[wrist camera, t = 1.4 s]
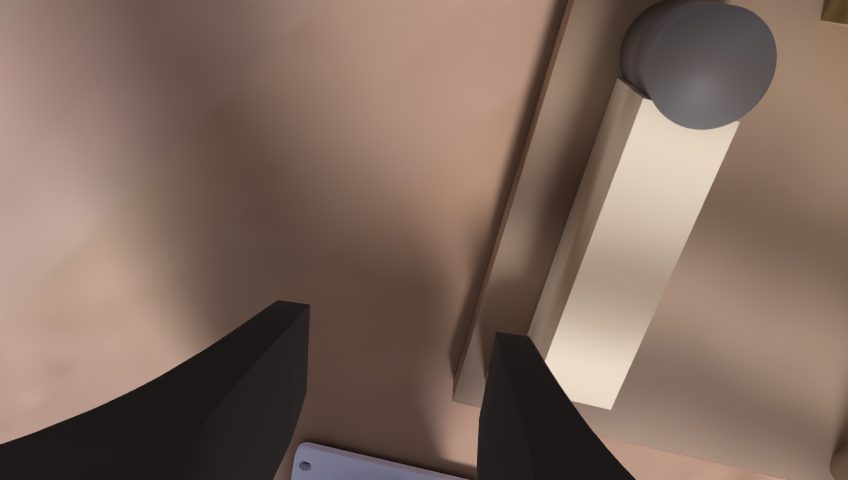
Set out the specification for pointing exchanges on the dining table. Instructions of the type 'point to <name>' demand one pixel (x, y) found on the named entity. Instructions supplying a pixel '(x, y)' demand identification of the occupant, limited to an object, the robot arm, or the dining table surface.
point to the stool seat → (706, 255)
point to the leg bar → (646, 185)
